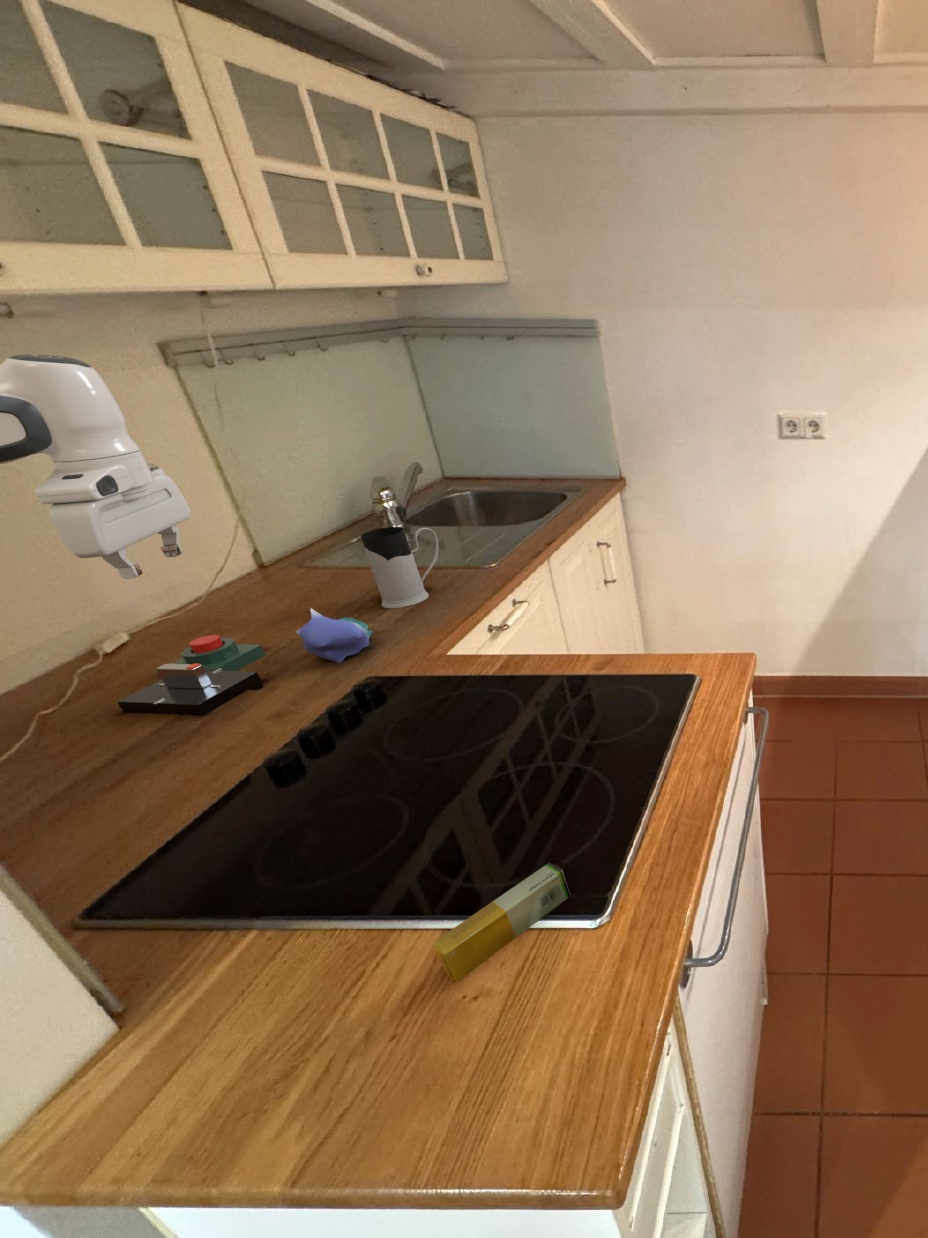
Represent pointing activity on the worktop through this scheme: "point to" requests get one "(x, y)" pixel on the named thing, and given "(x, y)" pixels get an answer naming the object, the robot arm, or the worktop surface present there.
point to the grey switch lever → (184, 676)
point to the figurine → (334, 636)
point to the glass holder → (396, 566)
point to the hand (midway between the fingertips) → (155, 565)
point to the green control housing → (223, 656)
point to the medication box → (500, 921)
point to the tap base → (192, 694)
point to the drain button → (206, 643)
